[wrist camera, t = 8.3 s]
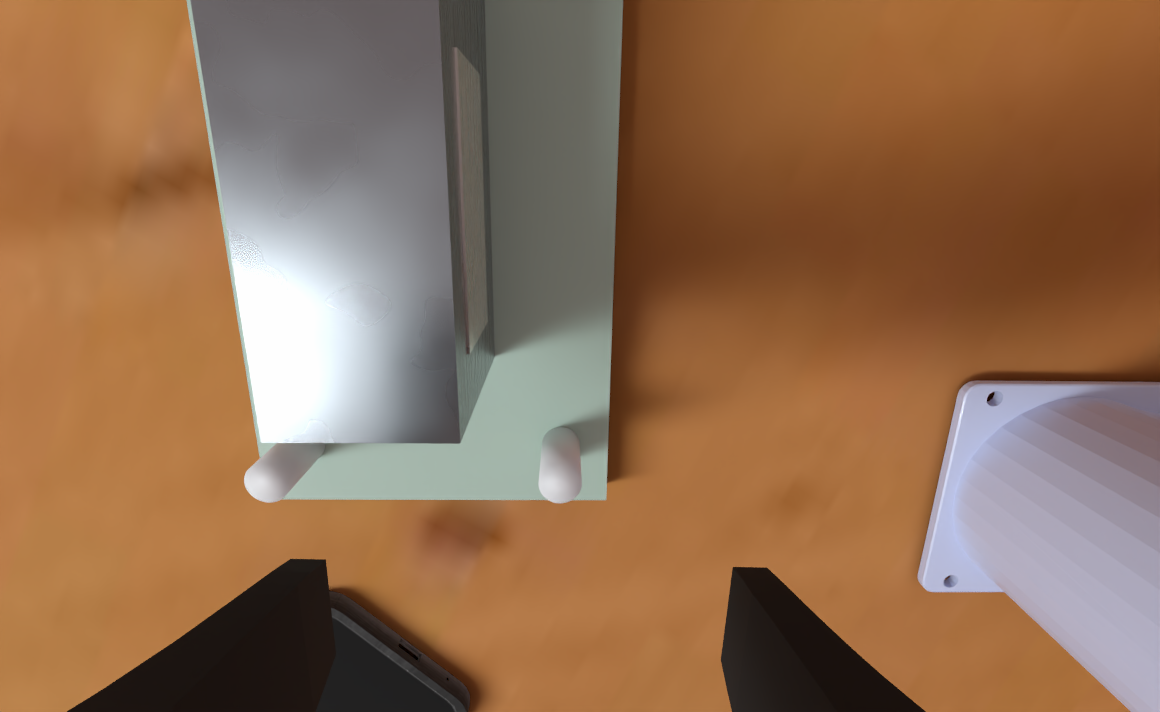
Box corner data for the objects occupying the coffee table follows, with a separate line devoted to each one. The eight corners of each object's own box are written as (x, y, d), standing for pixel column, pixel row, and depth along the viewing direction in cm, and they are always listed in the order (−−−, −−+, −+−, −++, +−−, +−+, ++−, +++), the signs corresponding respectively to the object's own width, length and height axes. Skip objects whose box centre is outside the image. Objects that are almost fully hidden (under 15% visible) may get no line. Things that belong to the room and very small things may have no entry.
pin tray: (624, -147, 15) (642, -242, 11) (604, 484, 20) (612, 546, 17) (184, -161, 14) (69, -263, 11) (280, 483, 20) (222, 545, 16)
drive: (486, -23, 15) (434, -153, 9) (496, 356, 18) (462, 443, 12) (321, -28, 15) (161, -161, 9) (359, 355, 17) (258, 442, 12)
